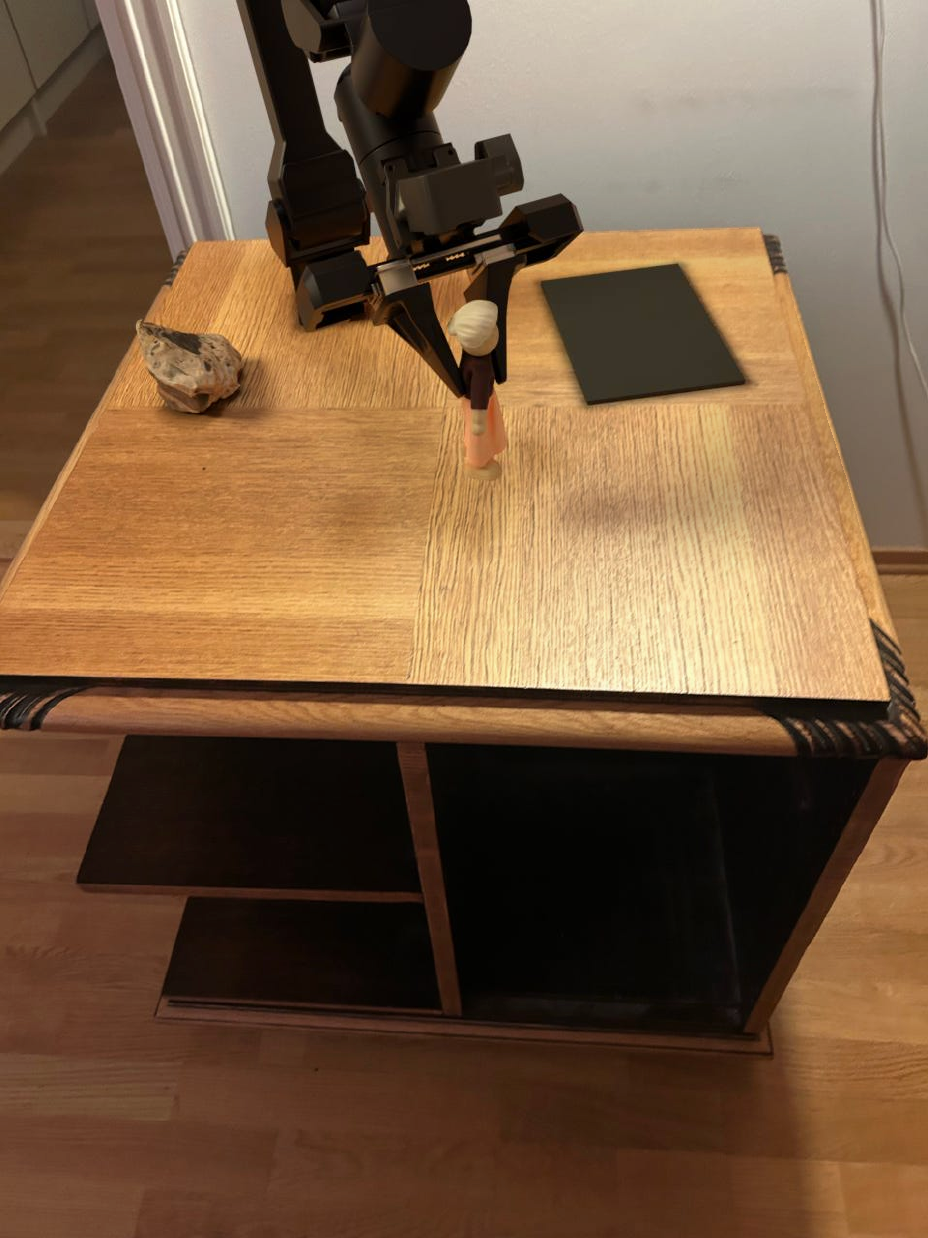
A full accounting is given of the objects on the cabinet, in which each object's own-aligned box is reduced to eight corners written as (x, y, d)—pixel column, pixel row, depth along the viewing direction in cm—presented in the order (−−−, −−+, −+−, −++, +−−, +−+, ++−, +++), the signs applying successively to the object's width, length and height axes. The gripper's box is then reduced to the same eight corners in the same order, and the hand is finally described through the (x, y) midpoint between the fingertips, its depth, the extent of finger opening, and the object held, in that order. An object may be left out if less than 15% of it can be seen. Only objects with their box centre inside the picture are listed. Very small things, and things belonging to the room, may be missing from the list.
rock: (148, 346, 86) (100, 337, 76) (209, 302, 85) (169, 287, 75) (203, 427, 87) (162, 429, 77) (264, 385, 86) (231, 381, 76)
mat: (586, 404, 79) (587, 401, 79) (540, 284, 92) (540, 280, 92) (745, 383, 80) (745, 379, 79) (677, 266, 93) (677, 262, 92)
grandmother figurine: (521, 485, 65) (525, 332, 55) (469, 496, 65) (463, 344, 54) (490, 416, 70) (488, 263, 60) (441, 427, 69) (431, 274, 59)
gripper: (270, 129, 49) (373, 410, 51) (576, 54, 53) (659, 316, 55) (259, 211, 60) (344, 441, 62) (514, 143, 64) (586, 359, 66)
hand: (482, 389), depth 61 cm, fingers closed on grandmother figurine, 3 cm apart
